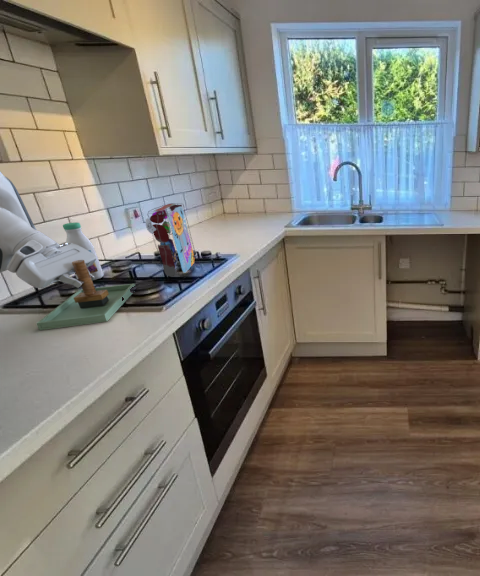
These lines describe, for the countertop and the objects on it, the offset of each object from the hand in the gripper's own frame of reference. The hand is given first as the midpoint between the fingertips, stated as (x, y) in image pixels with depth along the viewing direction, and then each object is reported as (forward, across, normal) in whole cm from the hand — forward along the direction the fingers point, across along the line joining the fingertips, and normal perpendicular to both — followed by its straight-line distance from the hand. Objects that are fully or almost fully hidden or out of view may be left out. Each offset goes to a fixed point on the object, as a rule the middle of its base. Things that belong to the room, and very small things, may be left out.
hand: (87, 282), depth 104 cm
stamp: (+5, 0, -5) cm, 7 cm away
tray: (+5, 0, -6) cm, 8 cm away
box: (+15, -23, +4) cm, 28 cm away
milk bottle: (-8, -25, -19) cm, 33 cm away
